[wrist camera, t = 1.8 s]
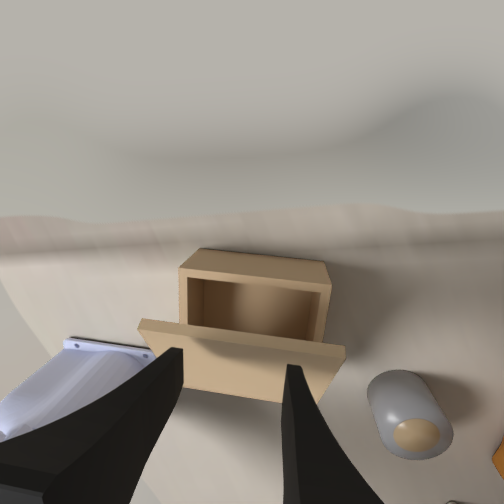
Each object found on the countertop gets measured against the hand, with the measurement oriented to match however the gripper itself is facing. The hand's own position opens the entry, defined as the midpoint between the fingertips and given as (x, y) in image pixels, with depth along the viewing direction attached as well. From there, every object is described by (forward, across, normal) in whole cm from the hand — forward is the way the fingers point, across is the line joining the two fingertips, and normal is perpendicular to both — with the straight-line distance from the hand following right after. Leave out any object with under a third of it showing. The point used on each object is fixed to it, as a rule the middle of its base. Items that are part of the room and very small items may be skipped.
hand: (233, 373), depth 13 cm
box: (+10, 0, +2) cm, 11 cm away
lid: (+4, 0, +3) cm, 4 cm away
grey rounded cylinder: (+10, -13, +9) cm, 19 cm away
